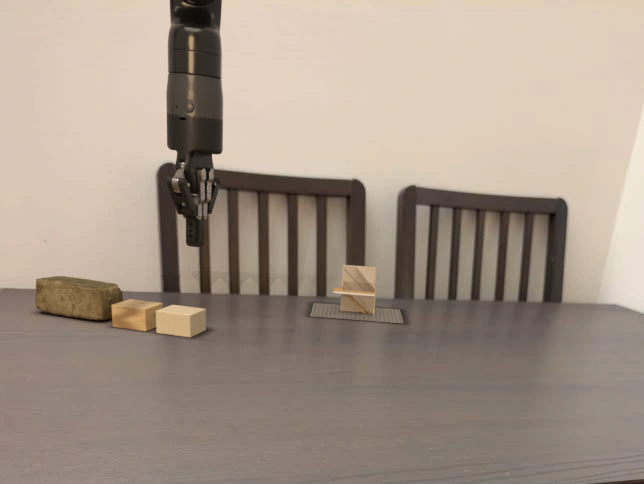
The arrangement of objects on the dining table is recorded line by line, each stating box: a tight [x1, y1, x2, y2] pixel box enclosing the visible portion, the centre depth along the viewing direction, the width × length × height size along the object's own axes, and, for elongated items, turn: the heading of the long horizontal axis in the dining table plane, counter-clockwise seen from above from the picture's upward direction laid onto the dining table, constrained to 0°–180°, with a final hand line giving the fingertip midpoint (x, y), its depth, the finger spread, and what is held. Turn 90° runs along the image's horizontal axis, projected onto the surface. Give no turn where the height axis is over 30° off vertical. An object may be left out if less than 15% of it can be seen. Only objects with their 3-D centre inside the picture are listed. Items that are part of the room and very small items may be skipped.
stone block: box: [34, 275, 124, 321], centre depth 103 cm, size 6×12×5 cm, turn 74°
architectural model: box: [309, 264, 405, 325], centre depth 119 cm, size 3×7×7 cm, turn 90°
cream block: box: [155, 304, 207, 338], centre depth 100 cm, size 5×5×3 cm
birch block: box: [111, 298, 164, 332], centre depth 101 cm, size 5×5×3 cm
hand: (195, 246), depth 106 cm, fingers closed
